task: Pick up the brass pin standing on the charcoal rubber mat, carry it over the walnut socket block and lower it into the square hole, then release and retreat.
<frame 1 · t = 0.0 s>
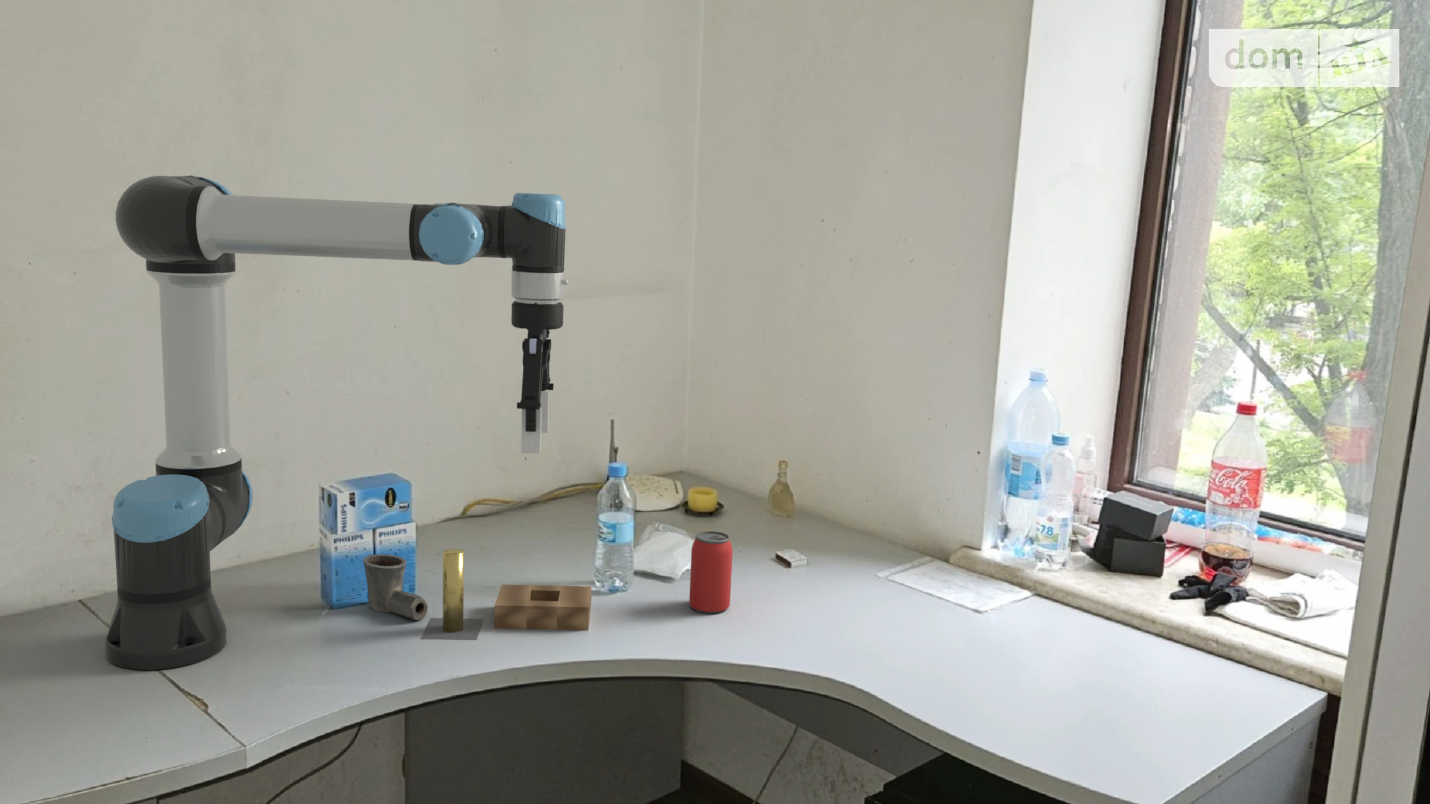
hand: (535, 442, 169), 28 cm above the table, fingers open, 13 cm apart
socket block: (543, 620, 174), on the table
mat: (453, 631, 168), on the table
beer can: (709, 608, 182), on the table
pipe: (395, 614, 174), on the table
pin: (453, 628, 168), resting on mat
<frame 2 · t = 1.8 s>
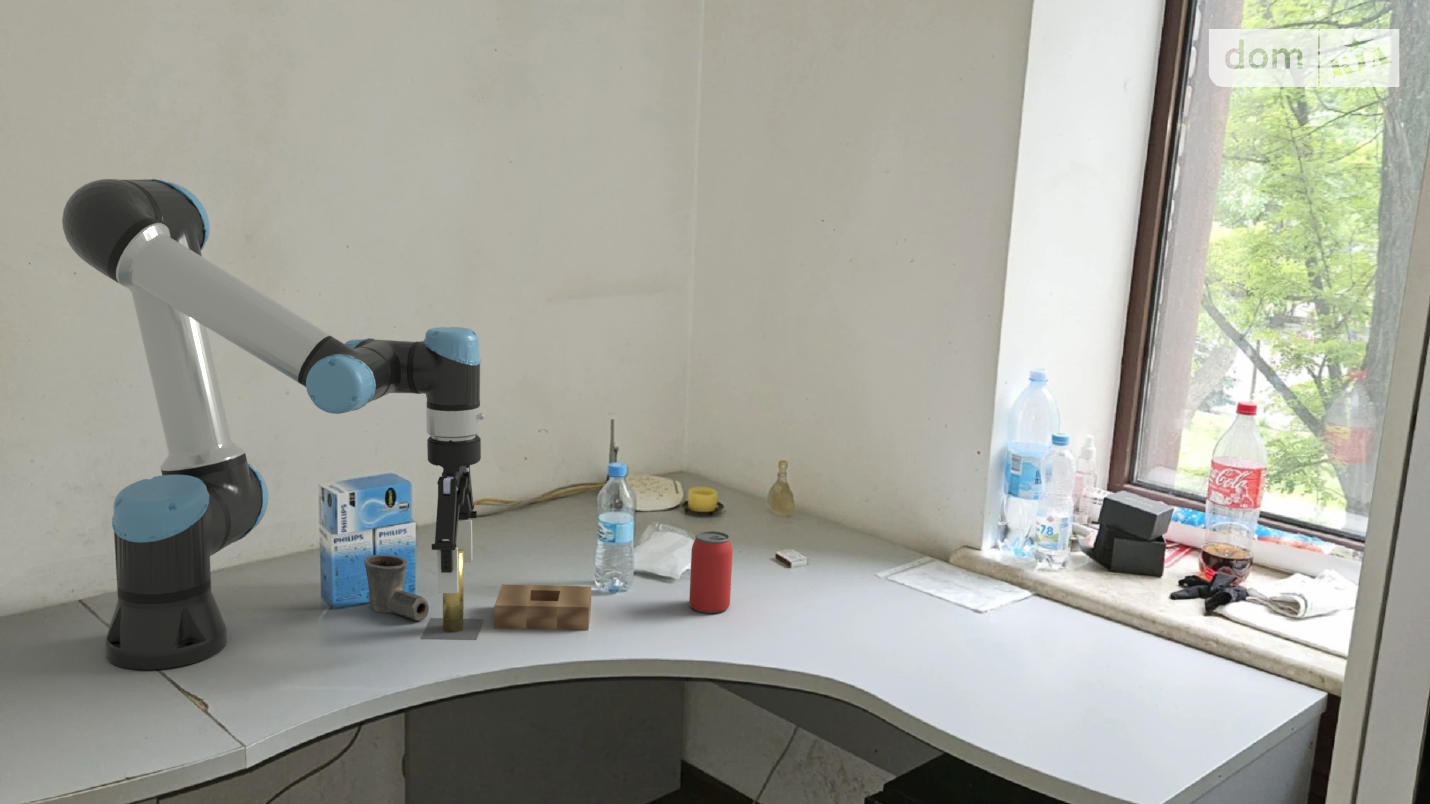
hand: (456, 576, 166), 9 cm above the table, fingers open, 13 cm apart
nothing on the table moved.
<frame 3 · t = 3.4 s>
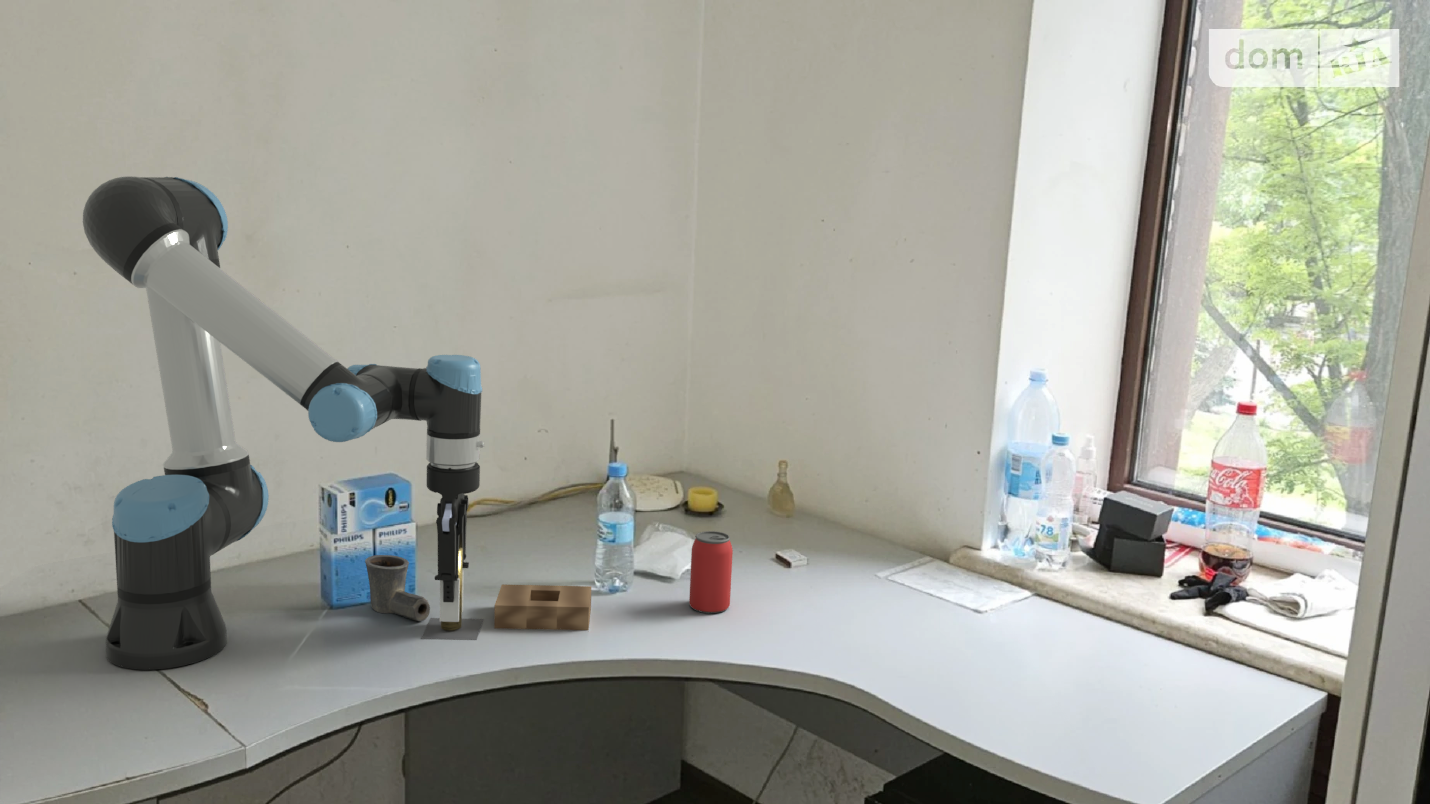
hand: (451, 615, 167), 2 cm above the table, fingers closed on pin, 3 cm apart
pin: (451, 626, 168), point 1 cm above the table, touching gripper
everything else where it was.
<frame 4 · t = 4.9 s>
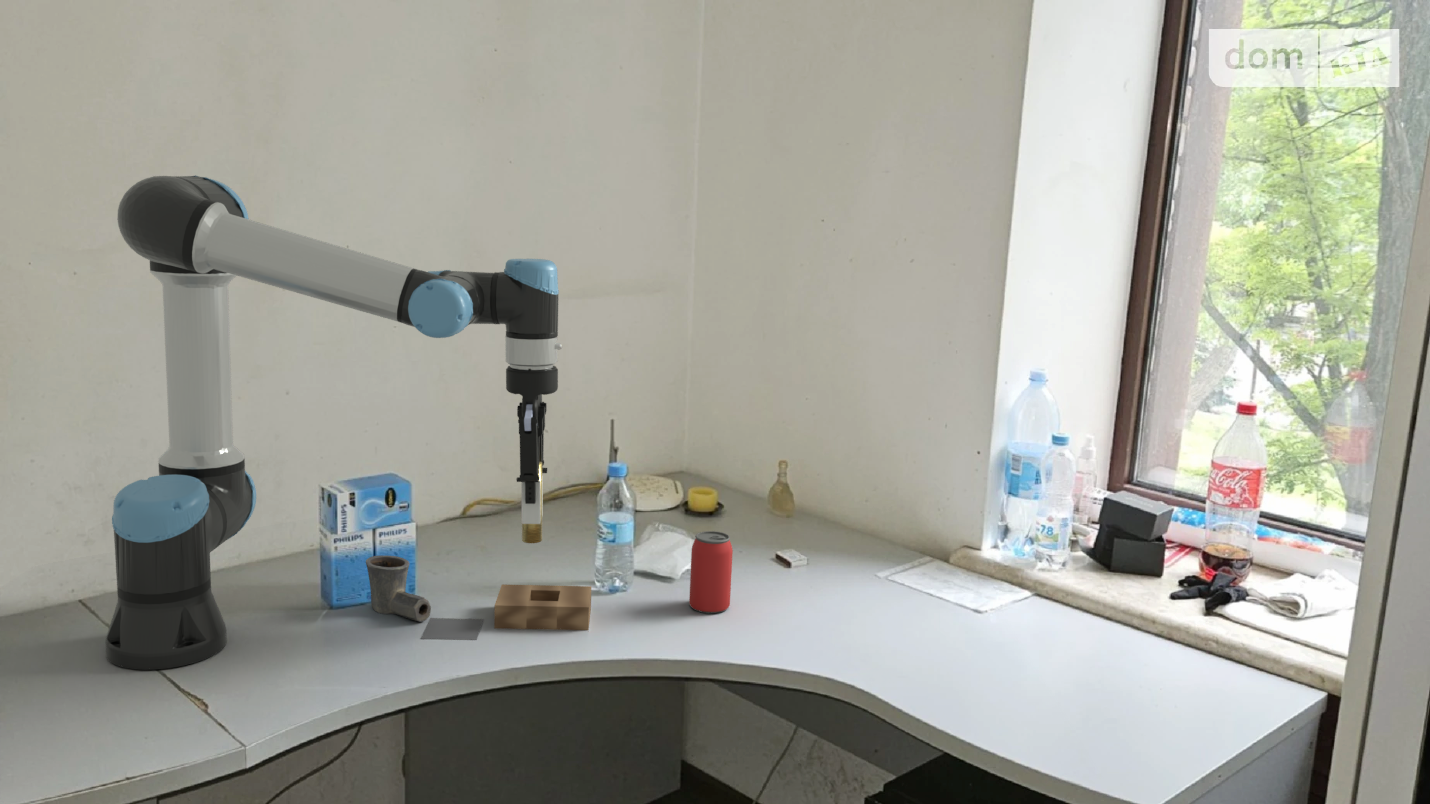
hand: (532, 519, 169), 16 cm above the table, fingers closed on pin, 3 cm apart
pin: (532, 540, 170), point 13 cm above the table, touching gripper
everything else where it was.
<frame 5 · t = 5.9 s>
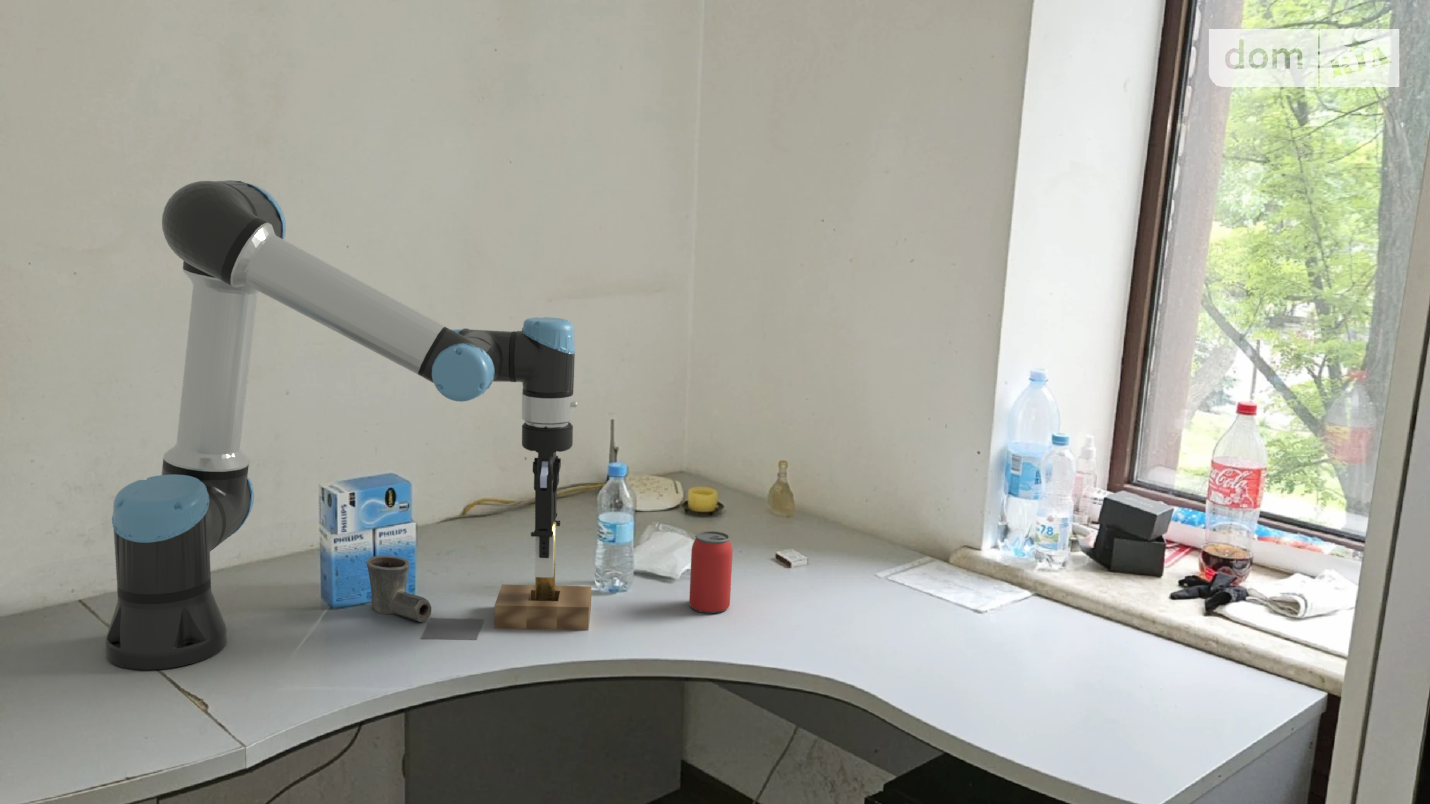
hand: (545, 572, 172), 8 cm above the table, fingers closed on pin, 3 cm apart
pin: (544, 598, 173), point 4 cm above the table, touching gripper
everything else where it was.
when the fingers open (5 cm above the table, at t = 6.7 s): pin stays where it is, resting in socket block.
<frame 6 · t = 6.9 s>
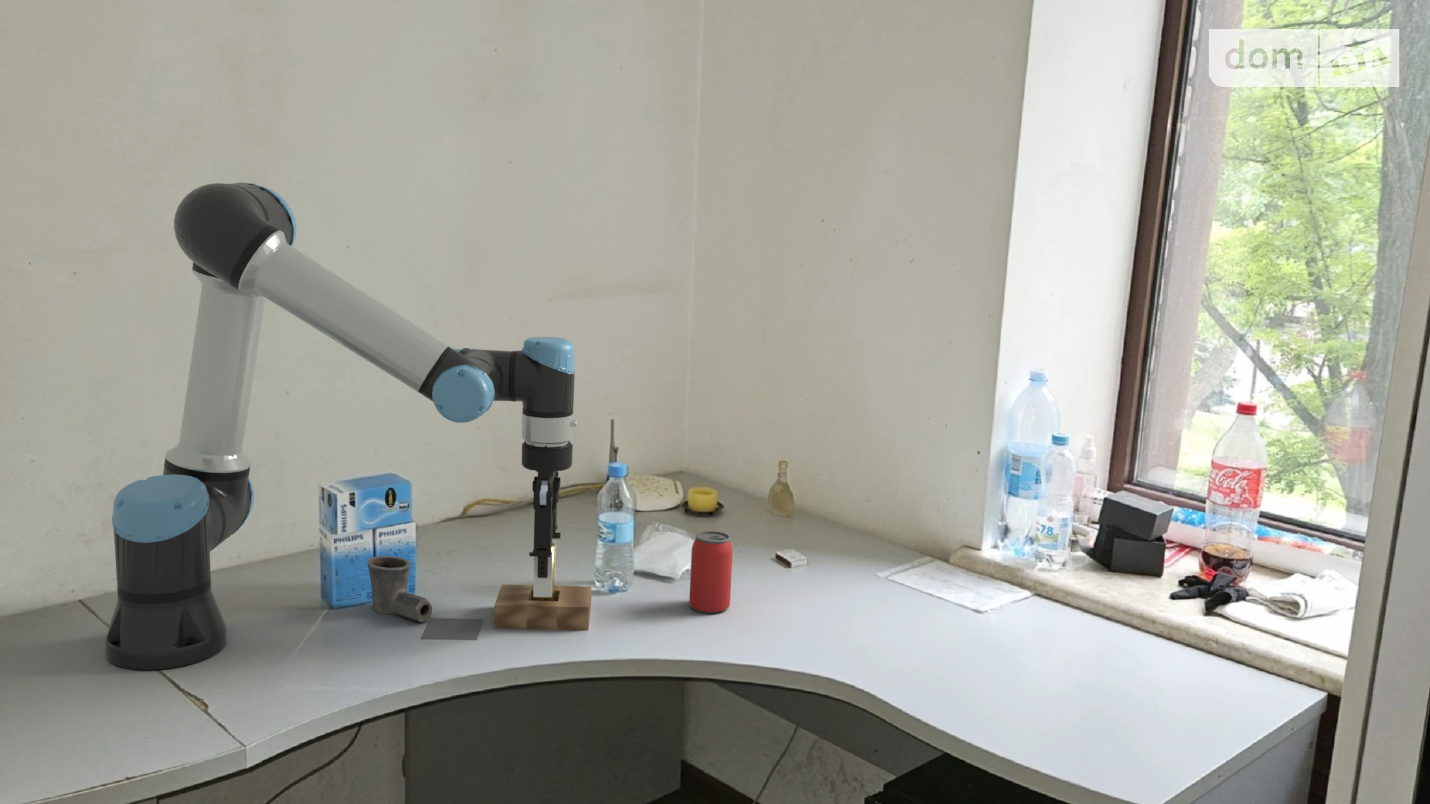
hand: (544, 587, 173), 5 cm above the table, fingers open, 6 cm apart
pin: (543, 620, 174), resting in socket block
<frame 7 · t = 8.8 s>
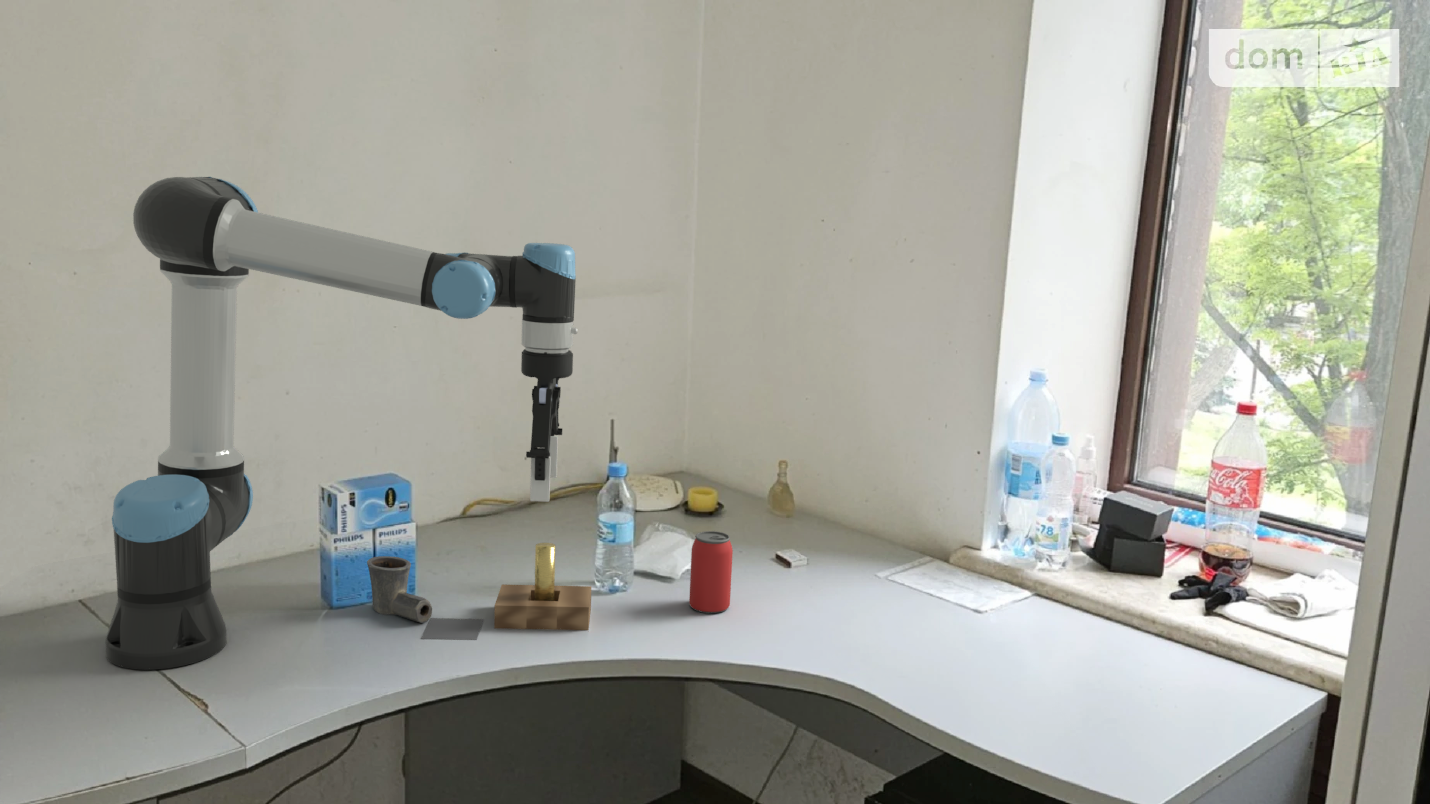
hand: (544, 488, 170), 21 cm above the table, fingers open, 13 cm apart
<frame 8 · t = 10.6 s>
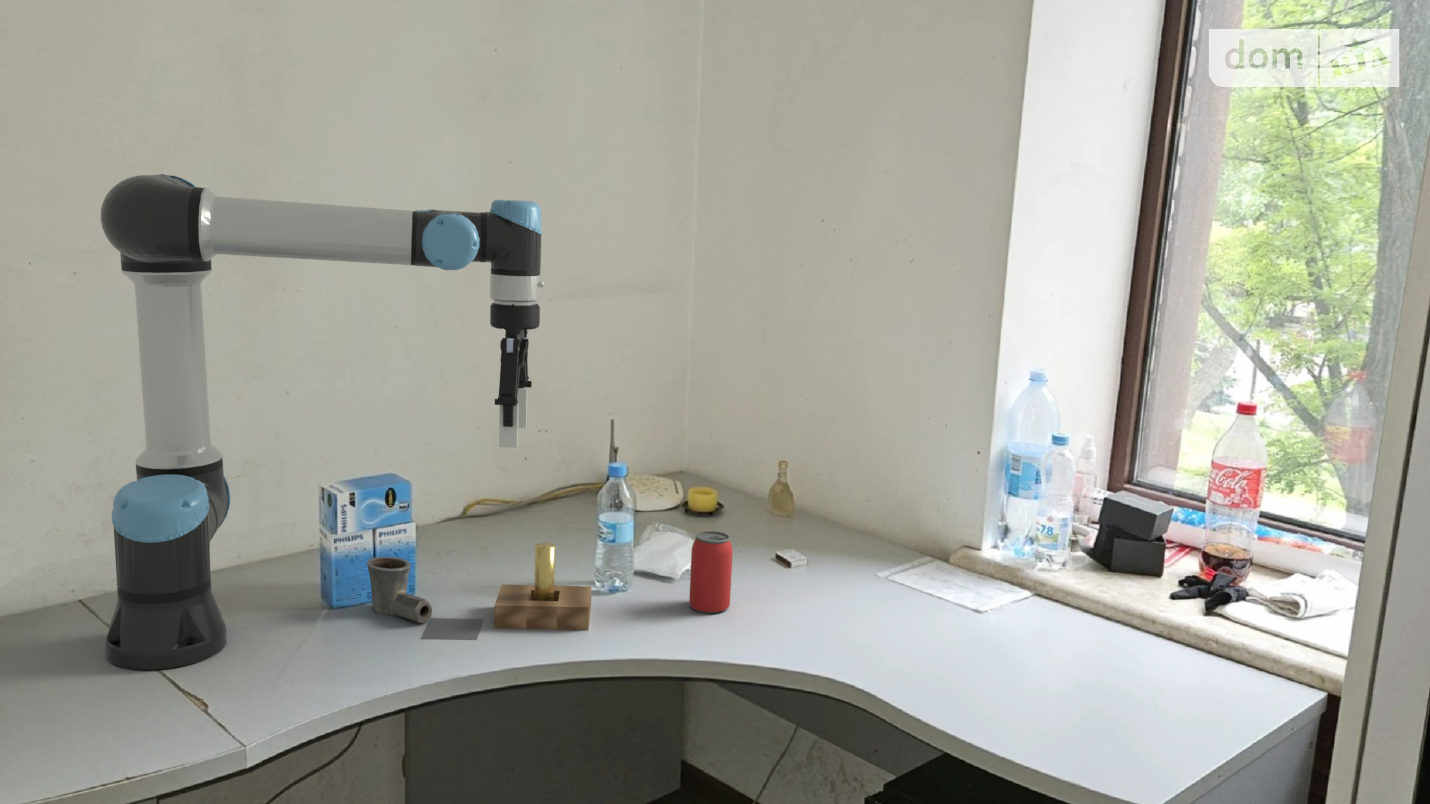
hand: (513, 437, 177), 27 cm above the table, fingers open, 13 cm apart
at the end: pin 0.1 cm off-centre on the socket block, point 0.0 cm above the socket block's base; pin tilted 0°; the gripper is holding nothing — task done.
